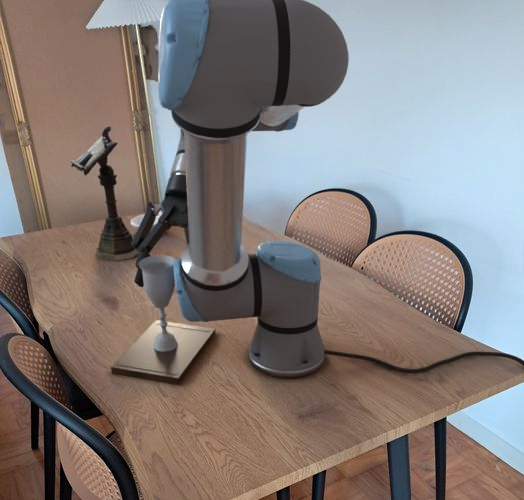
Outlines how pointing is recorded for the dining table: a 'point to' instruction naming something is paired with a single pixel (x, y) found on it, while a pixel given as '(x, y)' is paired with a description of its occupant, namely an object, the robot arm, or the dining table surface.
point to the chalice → (160, 293)
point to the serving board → (164, 353)
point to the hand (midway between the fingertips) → (159, 287)
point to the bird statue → (107, 201)
